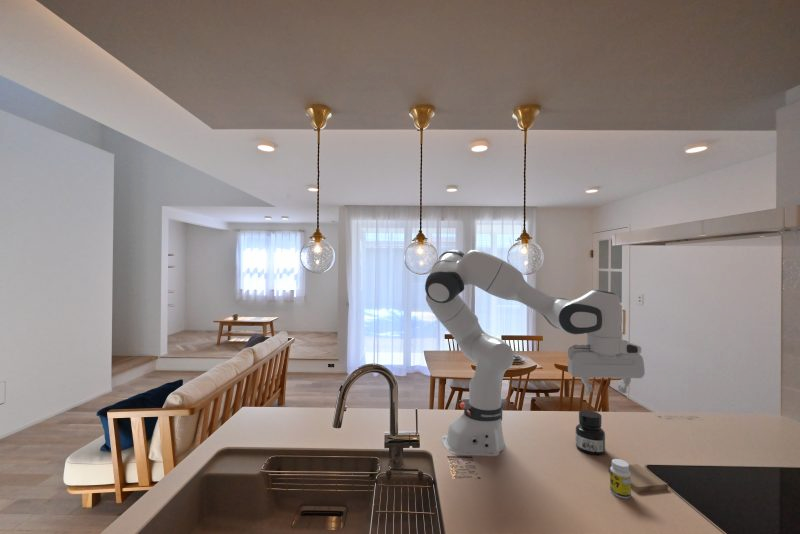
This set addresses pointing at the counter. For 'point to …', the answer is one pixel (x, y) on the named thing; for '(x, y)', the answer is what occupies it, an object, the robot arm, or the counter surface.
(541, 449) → the counter surface
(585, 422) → the ink bottle
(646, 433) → the counter surface
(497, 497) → the counter surface
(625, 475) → the supplement bottle
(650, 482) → the tan slab
